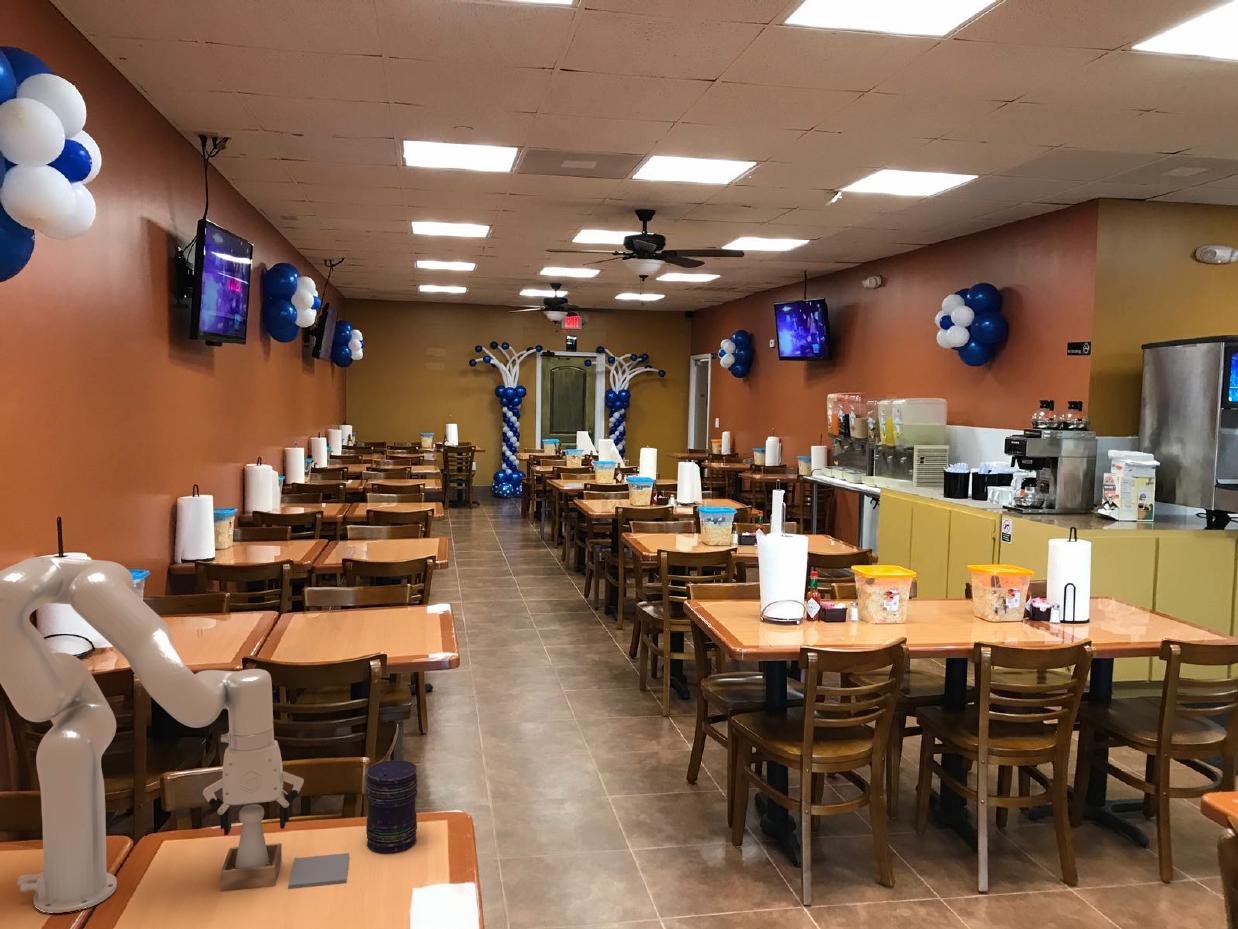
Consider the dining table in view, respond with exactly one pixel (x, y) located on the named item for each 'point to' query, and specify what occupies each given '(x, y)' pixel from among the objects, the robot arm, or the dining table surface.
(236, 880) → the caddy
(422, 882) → the dining table surface
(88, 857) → the robot arm
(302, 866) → the coaster
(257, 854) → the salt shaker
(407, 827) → the dark blue cylinder
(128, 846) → the dining table surface
